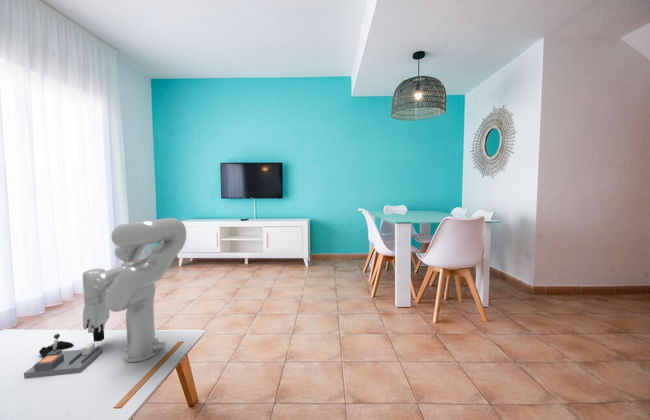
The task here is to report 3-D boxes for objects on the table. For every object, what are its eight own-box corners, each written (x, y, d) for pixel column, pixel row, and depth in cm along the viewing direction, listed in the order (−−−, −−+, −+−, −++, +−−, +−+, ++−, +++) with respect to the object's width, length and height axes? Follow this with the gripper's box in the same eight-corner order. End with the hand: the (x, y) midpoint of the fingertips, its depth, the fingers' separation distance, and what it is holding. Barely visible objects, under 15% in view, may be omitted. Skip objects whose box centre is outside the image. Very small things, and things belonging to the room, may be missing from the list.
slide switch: (95, 350, 113) (94, 343, 112) (90, 354, 110) (89, 347, 110) (86, 351, 112) (86, 344, 112) (81, 355, 109) (81, 348, 109)
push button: (59, 359, 105) (59, 355, 105) (51, 366, 101) (50, 361, 101) (47, 360, 105) (47, 356, 105) (38, 367, 101) (38, 362, 101)
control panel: (102, 352, 115) (101, 341, 115) (80, 372, 102) (79, 360, 102) (53, 356, 112) (52, 346, 112) (24, 378, 99) (23, 366, 99)
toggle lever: (58, 349, 111) (61, 333, 113) (55, 350, 110) (58, 333, 111) (53, 350, 111) (56, 333, 113) (49, 351, 109) (52, 334, 111)
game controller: (49, 357, 110) (37, 346, 111) (45, 366, 111) (32, 355, 112) (75, 344, 120) (64, 334, 121) (71, 352, 121) (59, 342, 122)
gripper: (97, 292, 123) (100, 332, 124) (73, 306, 108) (76, 351, 110) (116, 291, 124) (118, 330, 126) (94, 305, 110) (97, 349, 111)
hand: (99, 340), depth 118 cm, fingers closed
